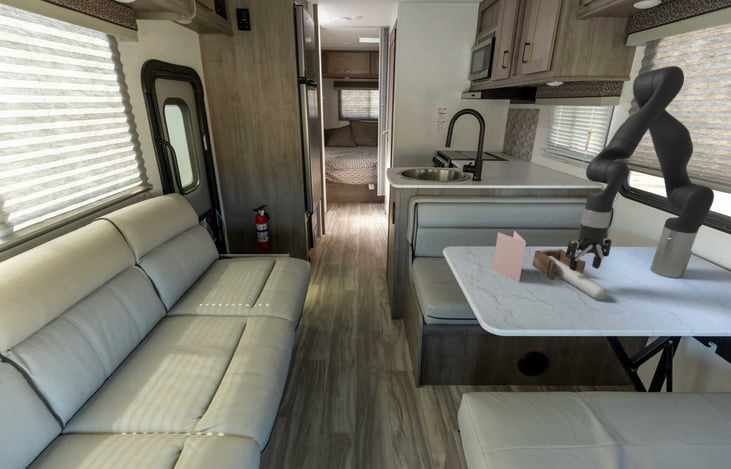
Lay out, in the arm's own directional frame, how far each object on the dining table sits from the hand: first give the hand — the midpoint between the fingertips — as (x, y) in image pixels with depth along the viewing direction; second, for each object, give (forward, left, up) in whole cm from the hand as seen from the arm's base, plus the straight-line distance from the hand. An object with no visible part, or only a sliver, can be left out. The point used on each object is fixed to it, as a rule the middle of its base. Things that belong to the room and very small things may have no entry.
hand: (584, 268), depth 119 cm
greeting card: (+20, -12, -7) cm, 25 cm away
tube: (+1, -3, -7) cm, 8 cm away
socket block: (0, -12, -7) cm, 14 cm away
